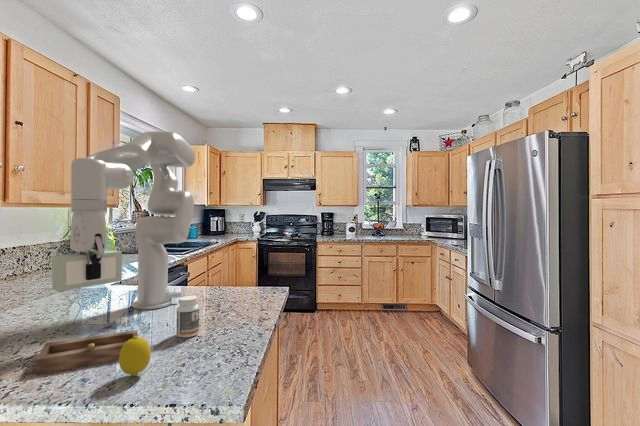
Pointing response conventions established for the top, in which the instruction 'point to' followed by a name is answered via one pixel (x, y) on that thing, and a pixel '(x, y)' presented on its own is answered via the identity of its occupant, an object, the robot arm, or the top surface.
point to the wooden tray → (81, 351)
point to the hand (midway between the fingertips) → (89, 277)
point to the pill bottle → (187, 317)
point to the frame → (84, 270)
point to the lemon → (134, 356)
